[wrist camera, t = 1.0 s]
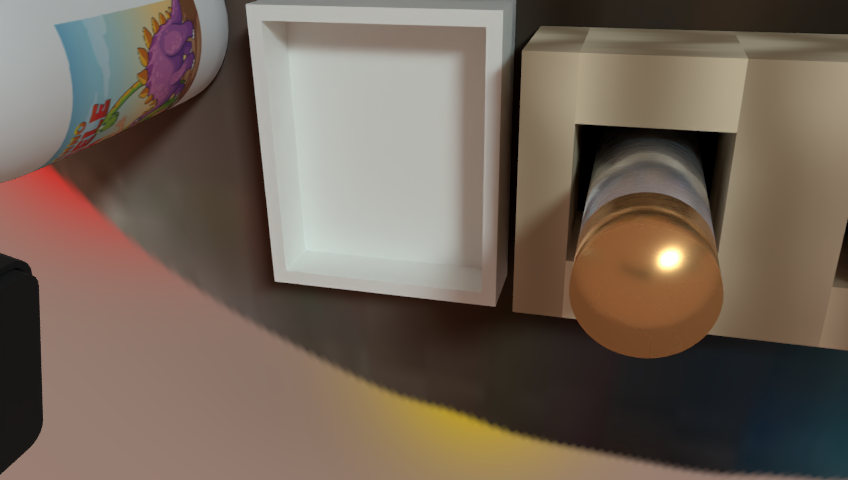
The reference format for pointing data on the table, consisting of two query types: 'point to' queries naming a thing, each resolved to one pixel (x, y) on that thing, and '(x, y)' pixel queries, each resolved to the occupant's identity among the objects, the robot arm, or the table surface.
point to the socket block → (733, 171)
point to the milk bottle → (97, 70)
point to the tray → (387, 143)
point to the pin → (646, 245)
